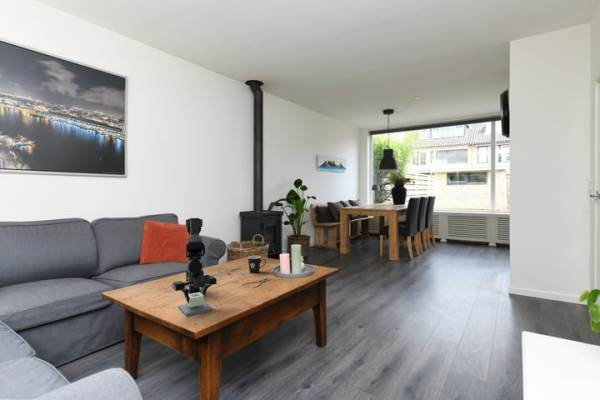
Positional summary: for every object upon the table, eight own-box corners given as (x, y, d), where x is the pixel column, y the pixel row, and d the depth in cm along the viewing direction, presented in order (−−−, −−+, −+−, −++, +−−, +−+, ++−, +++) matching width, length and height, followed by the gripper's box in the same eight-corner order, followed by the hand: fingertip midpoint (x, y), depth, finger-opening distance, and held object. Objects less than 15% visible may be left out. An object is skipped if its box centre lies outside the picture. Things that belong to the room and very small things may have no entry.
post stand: (178, 308, 147) (177, 293, 146) (203, 302, 154) (203, 288, 153) (185, 316, 137) (185, 300, 137) (212, 310, 144) (212, 295, 144)
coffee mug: (245, 272, 211) (245, 257, 211) (254, 269, 218) (254, 255, 218) (258, 275, 204) (258, 259, 204) (266, 272, 211) (266, 257, 211)
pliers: (239, 285, 180) (258, 276, 199) (239, 287, 180) (258, 278, 199) (254, 287, 177) (271, 278, 195) (254, 289, 177) (271, 280, 195)
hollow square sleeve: (186, 303, 146) (186, 294, 146) (199, 300, 149) (199, 292, 149) (190, 307, 141) (190, 298, 141) (204, 304, 145) (203, 295, 144)
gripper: (178, 274, 133) (179, 311, 133) (221, 268, 144) (221, 302, 144) (171, 269, 142) (172, 303, 142) (212, 263, 153) (212, 295, 153)
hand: (195, 301), depth 145 cm, fingers closed on hollow square sleeve, 6 cm apart
